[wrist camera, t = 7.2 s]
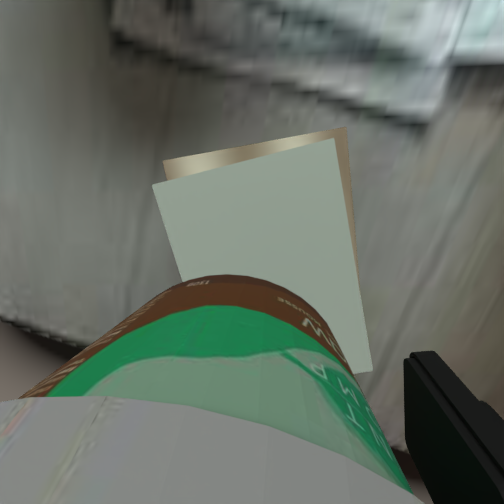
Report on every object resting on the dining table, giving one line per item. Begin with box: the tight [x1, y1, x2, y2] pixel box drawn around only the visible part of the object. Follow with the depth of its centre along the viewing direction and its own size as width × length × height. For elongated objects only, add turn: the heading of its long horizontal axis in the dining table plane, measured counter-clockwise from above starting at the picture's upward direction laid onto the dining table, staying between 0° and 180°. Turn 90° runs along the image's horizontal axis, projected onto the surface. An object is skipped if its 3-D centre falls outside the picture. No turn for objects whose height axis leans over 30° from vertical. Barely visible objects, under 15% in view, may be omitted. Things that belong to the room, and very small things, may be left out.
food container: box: [0, 274, 424, 504], centre depth 7 cm, size 12×6×10 cm, turn 45°
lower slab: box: [163, 127, 361, 296], centre depth 24 cm, size 12×16×4 cm
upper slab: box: [152, 138, 373, 374], centre depth 20 cm, size 10×14×4 cm
